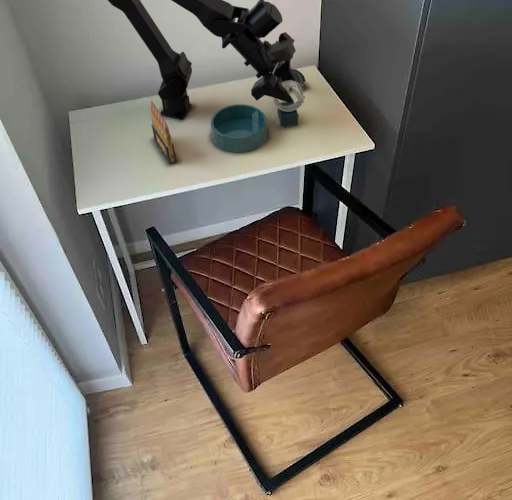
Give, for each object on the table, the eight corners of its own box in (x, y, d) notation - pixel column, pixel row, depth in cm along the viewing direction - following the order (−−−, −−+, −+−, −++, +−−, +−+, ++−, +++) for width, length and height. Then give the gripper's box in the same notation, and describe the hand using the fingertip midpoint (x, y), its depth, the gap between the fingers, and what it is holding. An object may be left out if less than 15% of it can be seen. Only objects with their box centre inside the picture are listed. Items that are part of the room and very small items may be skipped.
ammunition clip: (154, 140, 147) (146, 100, 138) (161, 138, 147) (153, 97, 138) (169, 164, 140) (162, 124, 131) (176, 162, 141) (169, 121, 132)
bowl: (203, 145, 145) (201, 131, 141) (225, 114, 153) (224, 99, 149) (254, 157, 141) (253, 143, 138) (274, 125, 149) (274, 110, 146)
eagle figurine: (273, 94, 156) (306, 89, 154) (269, 67, 154) (303, 61, 153) (277, 94, 163) (308, 88, 162) (273, 67, 162) (305, 62, 160)
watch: (305, 123, 148) (308, 88, 140) (274, 127, 148) (275, 91, 139) (300, 109, 152) (303, 74, 143) (270, 113, 151) (271, 77, 142)
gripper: (263, 50, 127) (310, 100, 133) (285, 10, 138) (326, 58, 144) (231, 76, 134) (276, 123, 140) (254, 36, 146) (295, 81, 152)
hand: (295, 95), depth 144 cm, fingers closed on watch, 6 cm apart
